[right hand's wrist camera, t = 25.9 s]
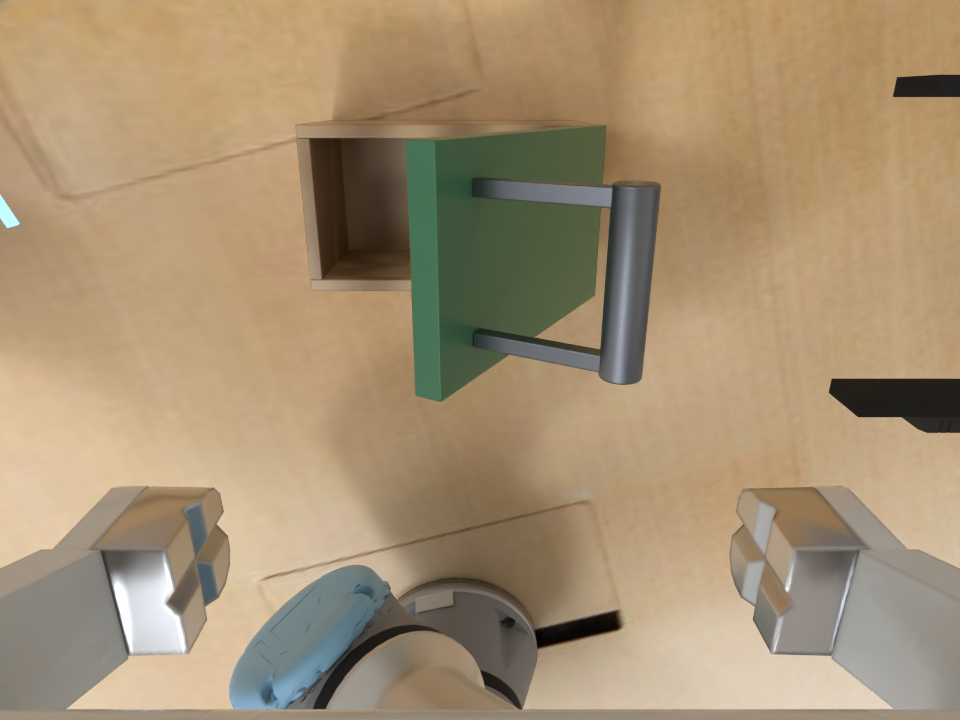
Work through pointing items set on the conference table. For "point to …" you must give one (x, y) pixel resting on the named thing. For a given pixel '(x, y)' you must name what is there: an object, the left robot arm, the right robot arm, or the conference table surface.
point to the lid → (523, 253)
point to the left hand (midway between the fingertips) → (875, 255)
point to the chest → (369, 196)
